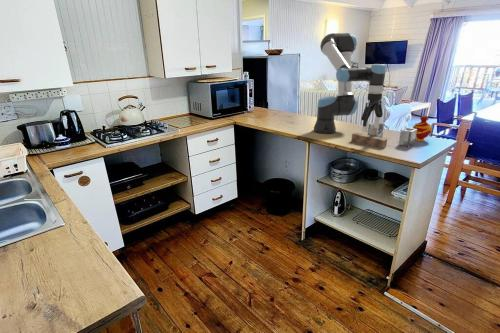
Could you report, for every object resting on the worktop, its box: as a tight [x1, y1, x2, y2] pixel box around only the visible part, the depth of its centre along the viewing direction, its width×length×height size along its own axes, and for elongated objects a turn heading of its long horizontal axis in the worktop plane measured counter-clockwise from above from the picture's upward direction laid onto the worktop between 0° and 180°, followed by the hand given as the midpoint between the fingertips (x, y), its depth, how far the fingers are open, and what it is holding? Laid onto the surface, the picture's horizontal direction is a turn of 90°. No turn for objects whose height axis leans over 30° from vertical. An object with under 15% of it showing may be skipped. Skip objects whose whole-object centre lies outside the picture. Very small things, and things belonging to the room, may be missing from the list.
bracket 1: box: [366, 122, 385, 138], centre depth 187 cm, size 6×8×9 cm
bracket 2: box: [398, 127, 418, 148], centre depth 173 cm, size 6×8×9 cm
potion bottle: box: [412, 115, 433, 142], centre depth 180 cm, size 10×10×15 cm
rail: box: [350, 132, 388, 149], centre depth 176 cm, size 20×4×5 cm, turn 42°
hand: (370, 129), depth 173 cm, fingers open, 13 cm apart
